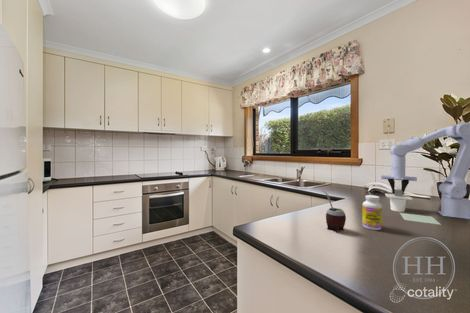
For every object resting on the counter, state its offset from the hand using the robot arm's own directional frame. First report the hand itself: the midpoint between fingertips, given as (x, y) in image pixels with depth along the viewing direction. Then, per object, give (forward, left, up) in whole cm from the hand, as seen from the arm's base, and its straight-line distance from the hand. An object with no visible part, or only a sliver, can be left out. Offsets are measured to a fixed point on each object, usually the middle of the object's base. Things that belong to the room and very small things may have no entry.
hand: (397, 193), depth 107 cm
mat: (-6, +12, -9) cm, 16 cm away
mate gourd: (+26, +45, -9) cm, 53 cm away
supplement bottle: (+13, +35, -9) cm, 38 cm away
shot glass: (0, 0, -9) cm, 9 cm away
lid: (0, 0, -2) cm, 2 cm away
